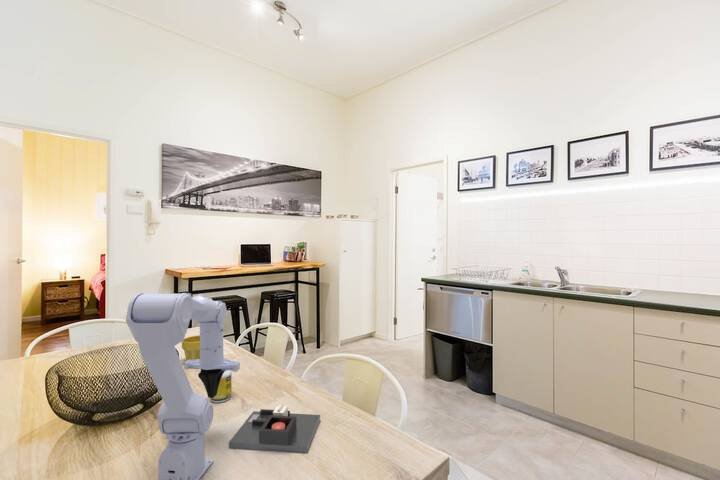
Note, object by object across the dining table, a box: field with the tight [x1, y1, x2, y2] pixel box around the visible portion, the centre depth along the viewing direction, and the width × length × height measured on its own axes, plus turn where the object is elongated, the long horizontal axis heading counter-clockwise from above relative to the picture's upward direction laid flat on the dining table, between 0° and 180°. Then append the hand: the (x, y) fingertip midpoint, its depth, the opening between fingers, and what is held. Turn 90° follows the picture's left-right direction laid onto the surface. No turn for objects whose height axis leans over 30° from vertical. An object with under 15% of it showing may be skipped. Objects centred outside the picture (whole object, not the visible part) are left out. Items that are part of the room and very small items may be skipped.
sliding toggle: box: [273, 403, 289, 416], centre depth 96 cm, size 4×3×4 cm
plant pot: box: [181, 334, 200, 361], centre depth 144 cm, size 10×10×10 cm
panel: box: [228, 408, 321, 454], centre depth 92 cm, size 15×20×5 cm
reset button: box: [272, 422, 285, 430], centre depth 89 cm, size 3×3×3 cm
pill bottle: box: [209, 370, 233, 403], centre depth 112 cm, size 6×6×12 cm
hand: (212, 396), depth 92 cm, fingers closed
